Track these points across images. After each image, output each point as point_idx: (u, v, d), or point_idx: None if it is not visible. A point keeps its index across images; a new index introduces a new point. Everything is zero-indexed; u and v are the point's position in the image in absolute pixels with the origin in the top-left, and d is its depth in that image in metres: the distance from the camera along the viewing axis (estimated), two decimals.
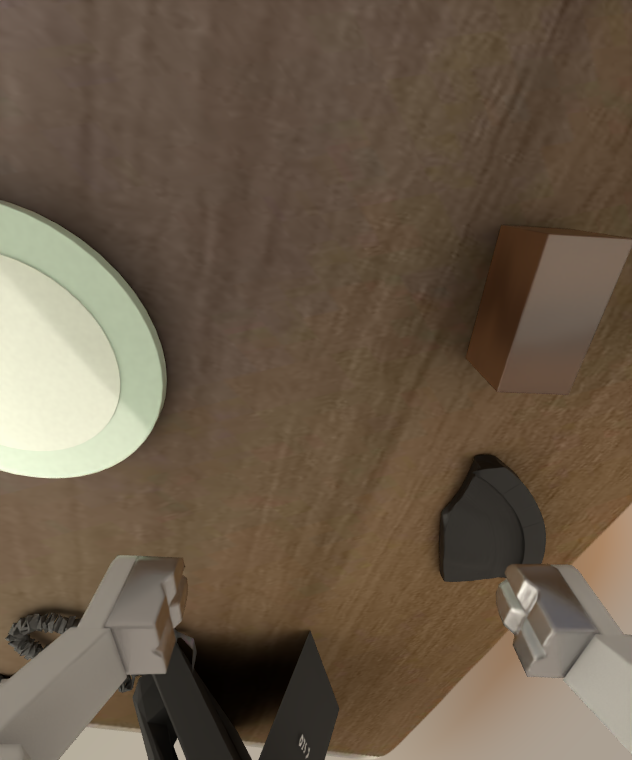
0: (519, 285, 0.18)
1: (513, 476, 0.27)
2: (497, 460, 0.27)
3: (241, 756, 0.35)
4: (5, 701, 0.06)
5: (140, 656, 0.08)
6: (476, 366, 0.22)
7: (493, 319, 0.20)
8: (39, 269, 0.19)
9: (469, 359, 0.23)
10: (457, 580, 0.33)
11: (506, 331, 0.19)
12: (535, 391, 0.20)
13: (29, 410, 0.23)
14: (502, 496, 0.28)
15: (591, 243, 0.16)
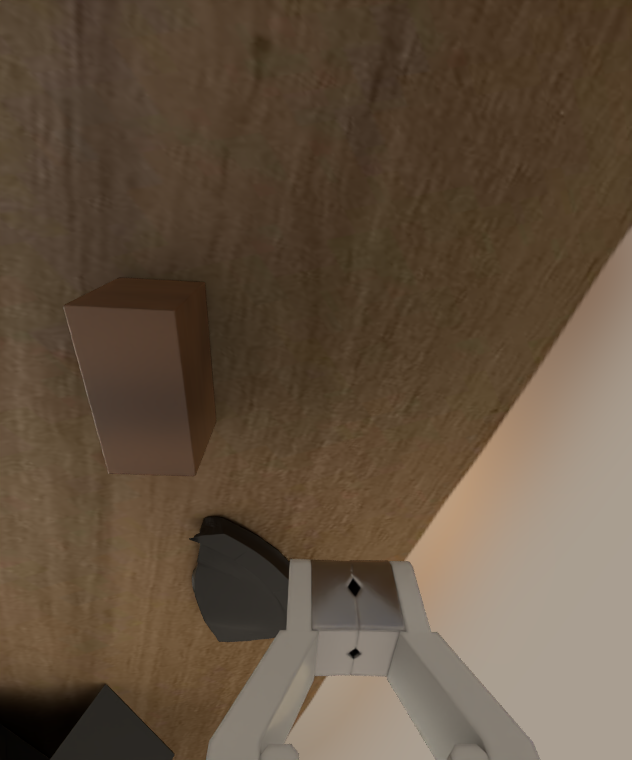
0: None
1: (237, 542, 0.24)
2: (222, 524, 0.24)
3: None
4: (254, 702, 0.06)
5: (333, 658, 0.08)
6: None
7: None
8: None
9: None
10: (232, 640, 0.30)
11: None
12: (152, 472, 0.17)
13: None
14: (236, 561, 0.25)
15: (122, 316, 0.13)
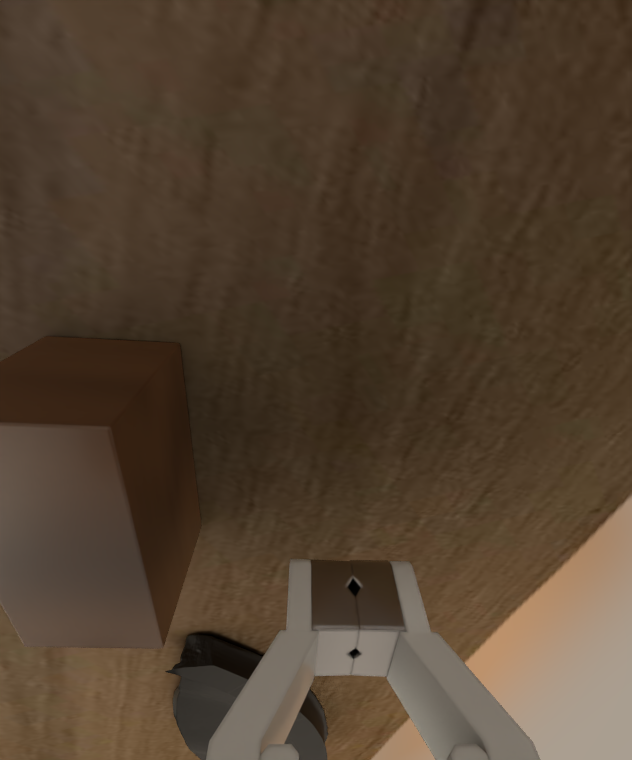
0: None
1: (232, 674, 0.18)
2: (212, 647, 0.18)
3: None
4: (254, 702, 0.06)
5: (333, 658, 0.08)
6: None
7: None
8: None
9: None
10: None
11: None
12: (94, 645, 0.11)
13: None
14: (230, 693, 0.19)
15: (12, 437, 0.07)
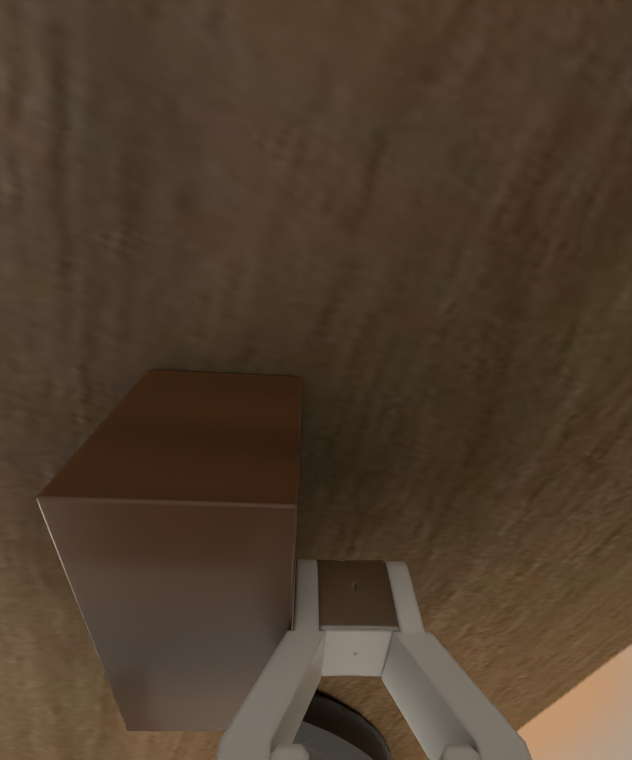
0: None
1: (311, 726, 0.16)
2: None
3: None
4: (263, 702, 0.06)
5: (340, 658, 0.08)
6: None
7: None
8: None
9: None
10: None
11: None
12: (208, 729, 0.09)
13: None
14: (304, 743, 0.17)
15: (175, 517, 0.06)
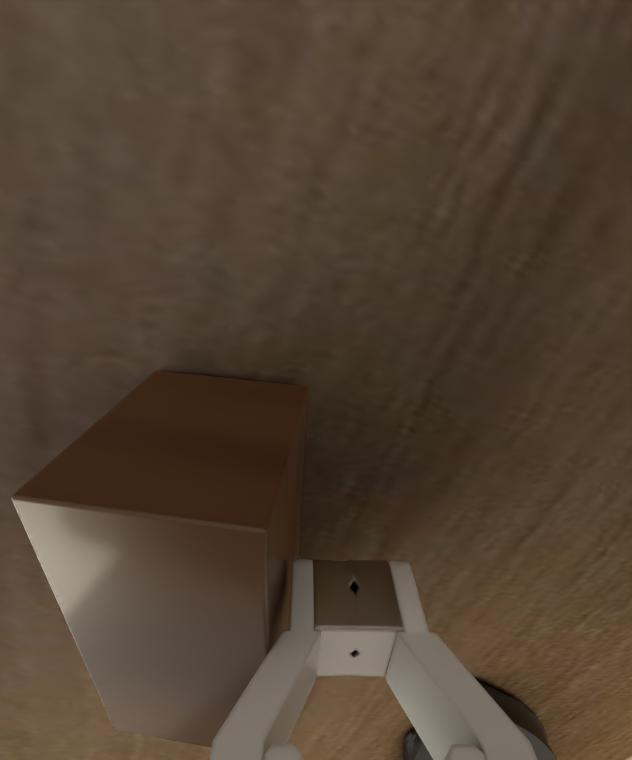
0: None
1: None
2: None
3: None
4: (257, 702, 0.06)
5: (336, 658, 0.08)
6: None
7: None
8: None
9: None
10: None
11: None
12: (191, 741, 0.09)
13: None
14: None
15: (142, 529, 0.06)
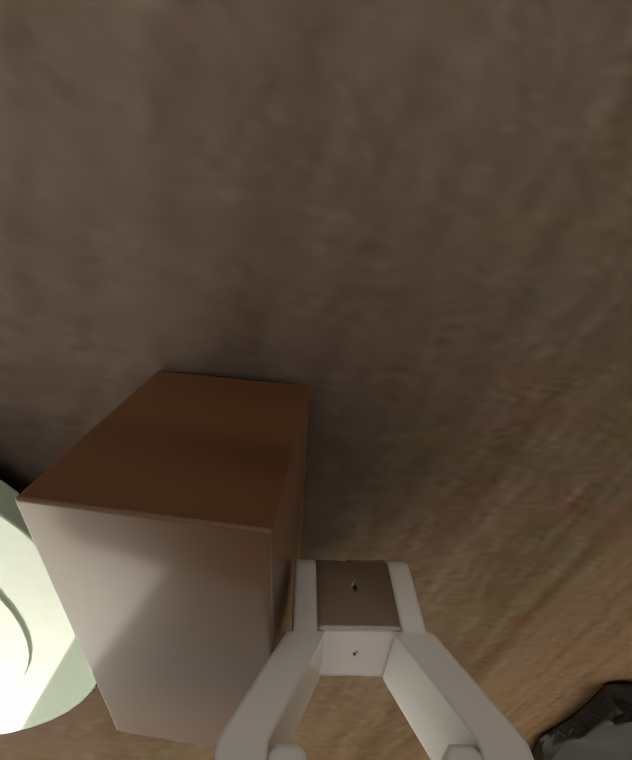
0: None
1: None
2: None
3: None
4: (261, 702, 0.06)
5: (339, 658, 0.08)
6: None
7: None
8: None
9: None
10: None
11: None
12: (194, 742, 0.09)
13: None
14: None
15: (146, 530, 0.06)
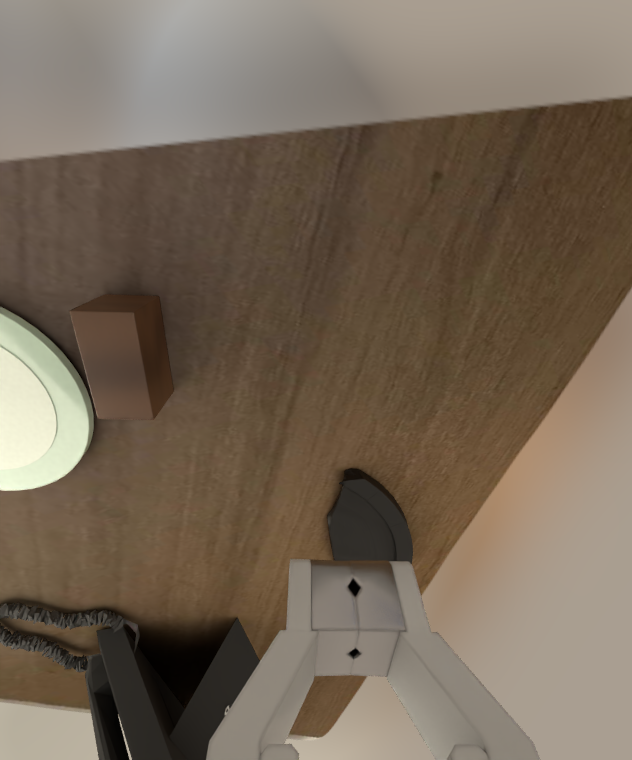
0: None
1: (372, 486, 0.34)
2: (360, 473, 0.34)
3: (176, 724, 0.42)
4: (254, 702, 0.06)
5: (333, 658, 0.08)
6: None
7: None
8: None
9: None
10: None
11: None
12: (126, 417, 0.26)
13: None
14: (367, 501, 0.35)
15: (103, 316, 0.23)
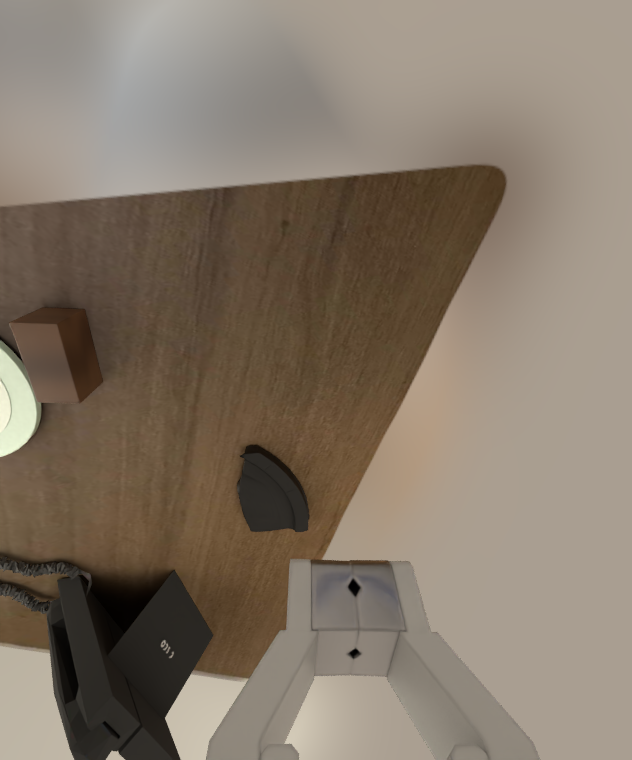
0: None
1: (266, 458, 0.43)
2: (257, 448, 0.43)
3: None
4: (254, 702, 0.06)
5: (333, 658, 0.08)
6: None
7: None
8: None
9: None
10: (259, 530, 0.49)
11: None
12: (58, 401, 0.35)
13: None
14: (265, 471, 0.44)
15: (34, 326, 0.32)
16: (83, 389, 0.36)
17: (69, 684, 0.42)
